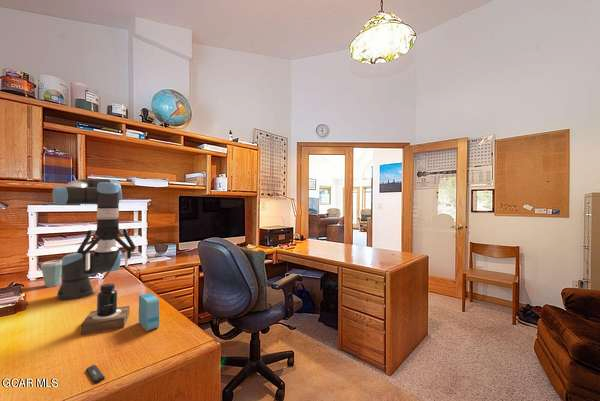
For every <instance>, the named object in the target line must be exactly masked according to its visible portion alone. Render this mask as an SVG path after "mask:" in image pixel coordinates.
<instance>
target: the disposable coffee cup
mask: <svg viewBox="0 0 600 401" xmlns="http://www.w3.org/2000/svg"><path fill="white" fill-rule="evenodd" d="M61 264H62V259H53V260H48V261H45V262H43V263H41V264H40V268H41V271H42V272H41V273H42V278H43V282H44V286H45V287H46V288H51V287H53V288H54V287H57V286H60V285H61V281H62V266H61Z"/></svg>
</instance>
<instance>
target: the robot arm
mask: <svg viewBox="0 0 600 401" xmlns="http://www.w3.org/2000/svg"><path fill="white" fill-rule="evenodd" d="M122 200H123V193H122V186H121V183H120V182H119V180H117V179H116V180H115V179H100V178H99V179H97V178H96V179H95V178H81V179H76V180H71V181H70V182H68V183H66V185H65V186H64V185H62V186H61V185H60V186H54V187H53V189H52V202H53V204H54V205H96V206H97V208H96V218H97V219H96V230H92V229H89V230H87V232H86V236H85V237H84V239H83V241H82V243H81V244H80V246H79V248H78V249H77V250H76V252H72V253H68V254H66V255H64V256H63V257H62V258H61V260H62V264H61V266H62V274H61V281H60V285H59V288H58V291H57V293H56V299H57V300H60V301H65V300H66V301H67V300H73V299H80V298H85V297H87V296H89V295H92V294H93V293H94V287H93V285H92V283H91V280H90V275H95V274H97V275H98V274H105V273H110V272H116V271H118V270H119V269H120V267H121V263H122V250H119V249H120V248H119V247H118V246H116V242H117V243H118V244H119V245H120V246H121V247H122V248H124V250H125V252H124V267H125V268H127V267H128V266H129V259H131V257H132V251H135V249H136V248H137V247H136V245H135V243H134V241H133V240H132V238H131V237H130V235H129V232H128V229H127V228H124V229H120V226H119V224H120V223H119V222H120V220H119V214H120V209H119V204H120V201H122ZM120 233H121V235H123V236H124V238H125V240H126V241H127V242H125V241H124V240H123V239H121V237H120V236H119V234H120ZM94 235H96V236H97V238H95V240H94V241H92V243H90V245H89V246H87V245H88V242H90V240H91V238H92V236H94ZM127 243H128V244H129V245H128V244H127ZM86 246H87V247H86ZM95 246H96V248H95V249H94V250H93V252H92V253H91V252H90V251H91V250H92V249H93V248H94V247H95ZM85 247H86V249H85ZM84 249H85V250H84Z"/></svg>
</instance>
